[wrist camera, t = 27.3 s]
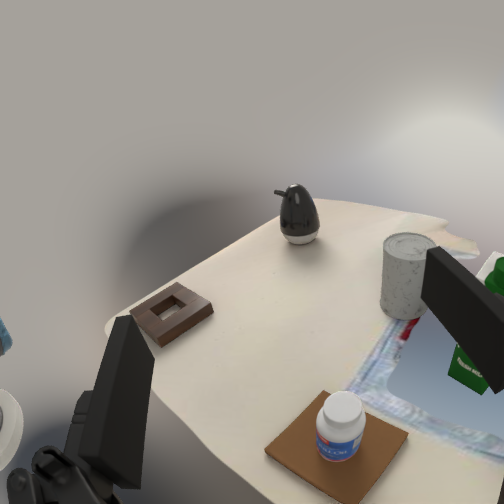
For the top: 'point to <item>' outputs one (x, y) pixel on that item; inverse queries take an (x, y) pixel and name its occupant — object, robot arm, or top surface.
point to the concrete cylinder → (404, 275)
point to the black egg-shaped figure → (298, 215)
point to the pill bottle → (340, 426)
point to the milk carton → (461, 369)
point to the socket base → (176, 323)
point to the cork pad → (337, 473)
